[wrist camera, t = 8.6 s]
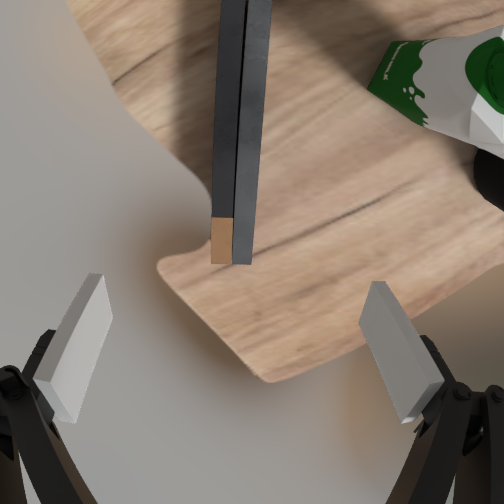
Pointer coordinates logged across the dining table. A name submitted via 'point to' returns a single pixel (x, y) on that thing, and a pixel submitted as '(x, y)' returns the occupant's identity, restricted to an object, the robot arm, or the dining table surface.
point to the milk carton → (449, 86)
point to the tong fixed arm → (250, 127)
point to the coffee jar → (490, 177)
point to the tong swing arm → (226, 128)
